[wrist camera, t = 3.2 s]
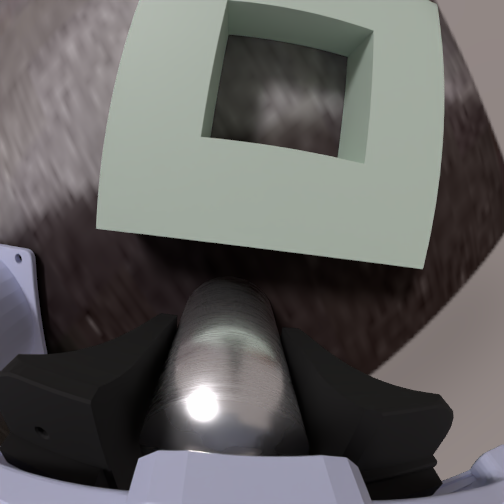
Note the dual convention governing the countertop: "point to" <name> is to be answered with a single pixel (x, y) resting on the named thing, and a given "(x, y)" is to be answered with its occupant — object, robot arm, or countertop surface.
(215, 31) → the hole block
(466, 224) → the countertop surface
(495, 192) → the countertop surface
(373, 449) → the robot arm
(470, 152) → the countertop surface
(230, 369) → the steel peg
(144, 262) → the countertop surface
